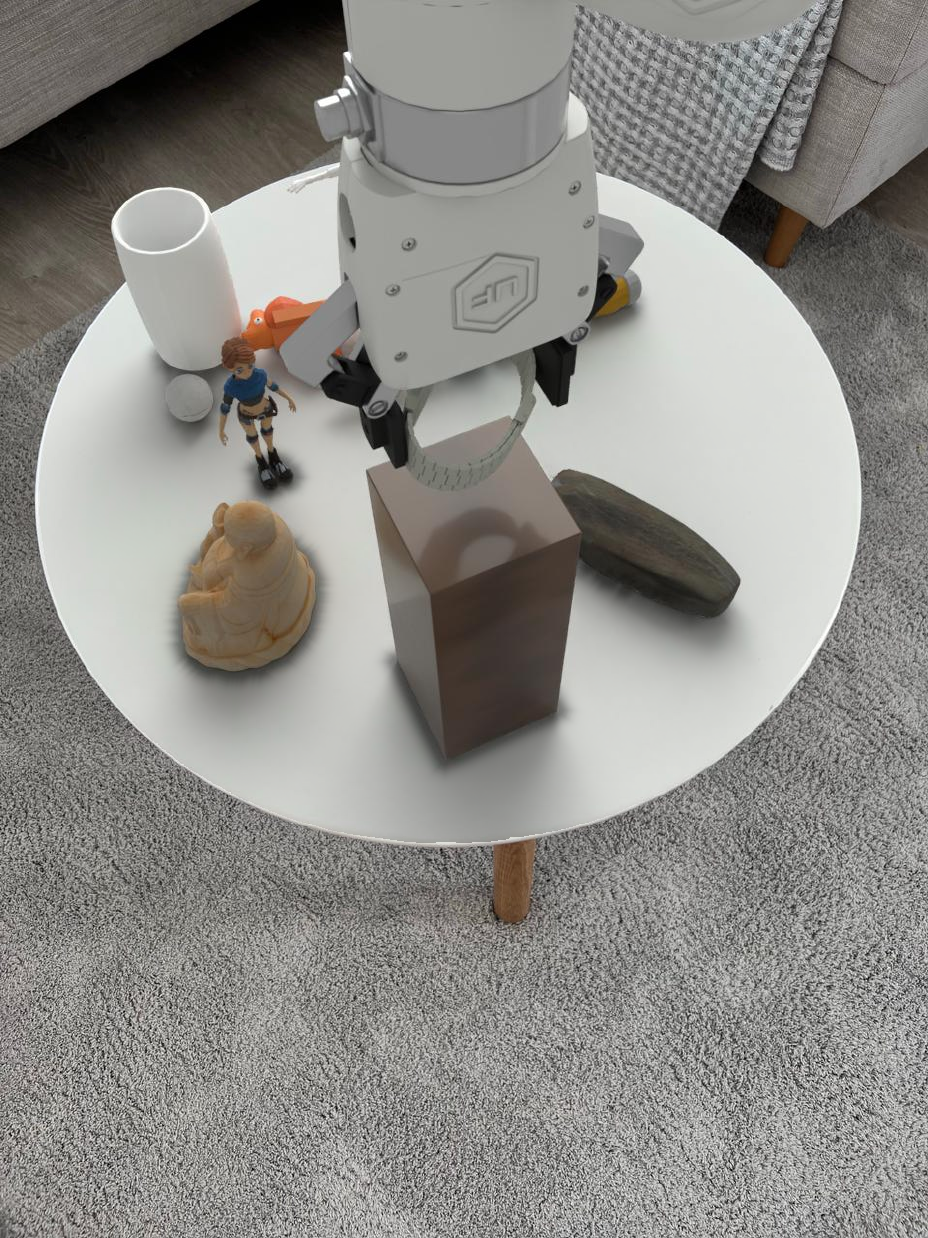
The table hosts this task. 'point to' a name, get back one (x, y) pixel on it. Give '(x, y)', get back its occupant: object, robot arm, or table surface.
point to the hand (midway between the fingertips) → (469, 414)
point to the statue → (246, 590)
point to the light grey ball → (189, 397)
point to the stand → (477, 588)
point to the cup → (178, 275)
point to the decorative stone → (646, 547)
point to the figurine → (252, 406)
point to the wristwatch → (478, 468)
